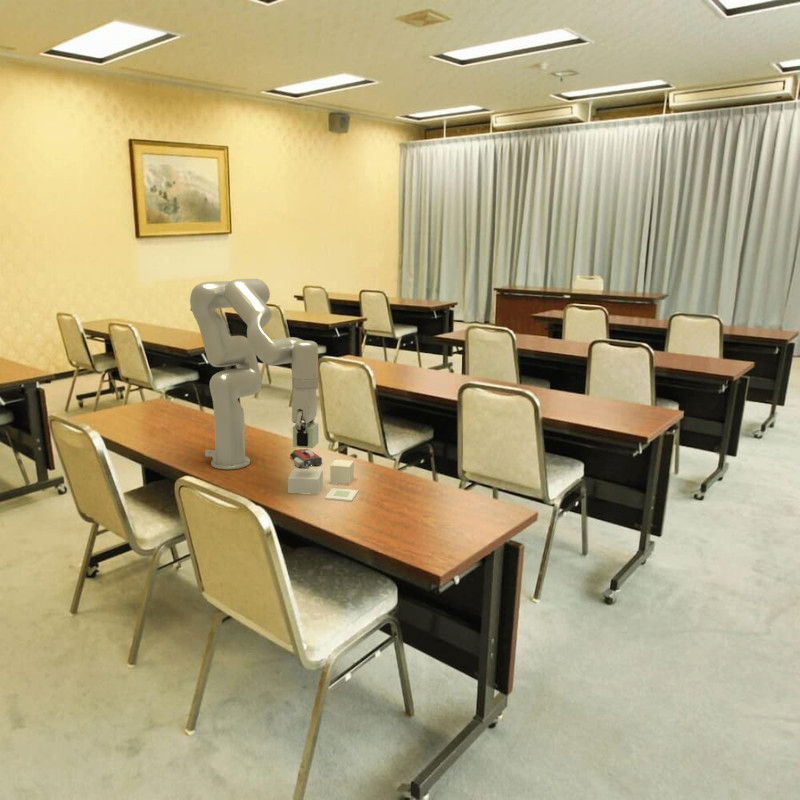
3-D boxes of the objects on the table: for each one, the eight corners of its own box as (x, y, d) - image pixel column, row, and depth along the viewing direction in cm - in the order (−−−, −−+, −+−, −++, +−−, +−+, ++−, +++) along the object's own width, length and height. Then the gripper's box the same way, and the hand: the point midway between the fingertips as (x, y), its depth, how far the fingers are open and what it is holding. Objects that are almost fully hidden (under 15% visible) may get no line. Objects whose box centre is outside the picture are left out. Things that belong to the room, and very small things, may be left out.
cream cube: (330, 483, 203) (330, 465, 202) (335, 477, 209) (335, 459, 207) (349, 485, 202) (349, 466, 201) (353, 478, 208) (353, 460, 207)
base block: (288, 494, 194) (287, 478, 193) (293, 483, 203) (293, 468, 202) (318, 495, 194) (318, 479, 193) (322, 484, 203) (322, 469, 201)
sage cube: (292, 447, 193) (292, 427, 191) (299, 441, 198) (299, 422, 197) (312, 448, 192) (312, 428, 190) (318, 442, 197) (318, 423, 196)
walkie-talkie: (284, 459, 226) (307, 476, 210) (284, 446, 225) (307, 463, 209) (307, 455, 231) (332, 472, 214) (307, 443, 230) (332, 459, 213)
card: (324, 499, 190) (324, 497, 190) (332, 489, 198) (332, 487, 198) (351, 501, 189) (351, 499, 189) (358, 491, 197) (358, 489, 197)
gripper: (302, 377, 200) (302, 434, 204) (282, 388, 183) (284, 450, 187) (325, 378, 199) (326, 435, 203) (308, 390, 182) (309, 452, 186)
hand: (305, 442), depth 195 cm, fingers closed on sage cube, 6 cm apart
